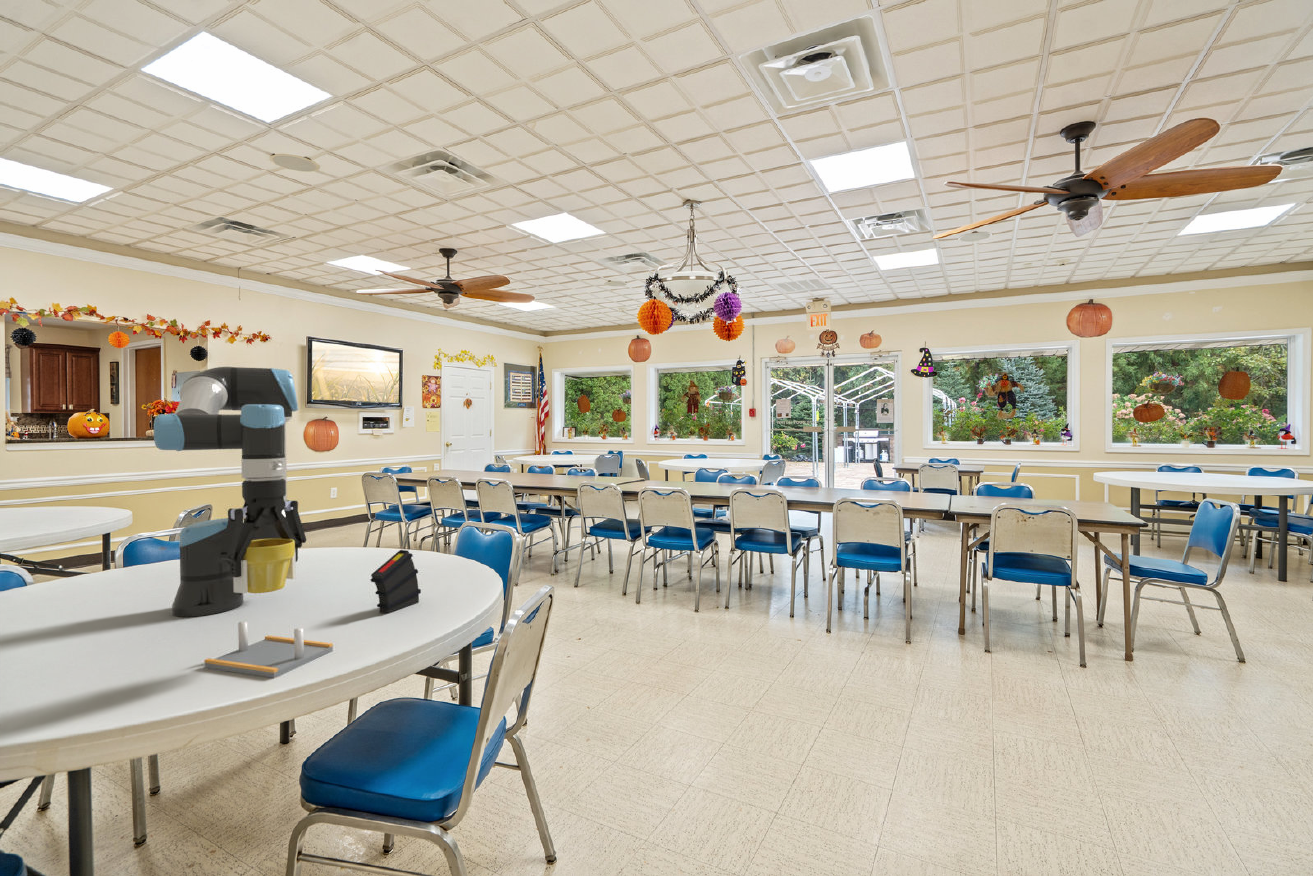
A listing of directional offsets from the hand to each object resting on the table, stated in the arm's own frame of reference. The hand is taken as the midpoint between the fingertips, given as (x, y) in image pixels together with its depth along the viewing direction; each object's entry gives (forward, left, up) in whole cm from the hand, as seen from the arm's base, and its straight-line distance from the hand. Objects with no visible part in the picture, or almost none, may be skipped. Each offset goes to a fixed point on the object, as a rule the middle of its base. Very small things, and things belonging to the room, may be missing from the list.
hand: (266, 585), depth 120 cm
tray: (0, 0, -16) cm, 16 cm away
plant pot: (0, 0, -1) cm, 1 cm away
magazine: (+2, +35, -16) cm, 39 cm away
